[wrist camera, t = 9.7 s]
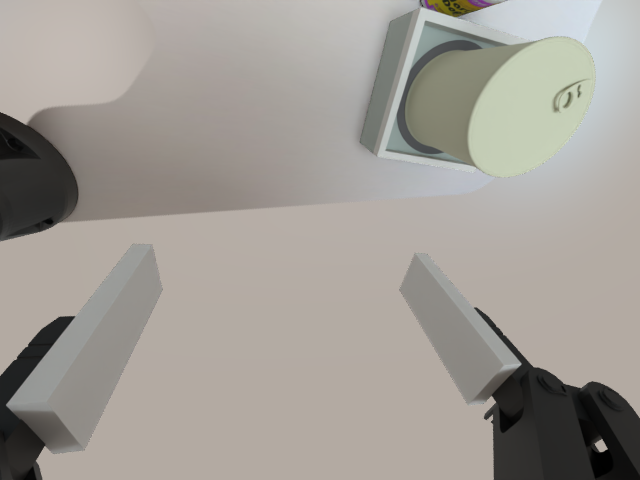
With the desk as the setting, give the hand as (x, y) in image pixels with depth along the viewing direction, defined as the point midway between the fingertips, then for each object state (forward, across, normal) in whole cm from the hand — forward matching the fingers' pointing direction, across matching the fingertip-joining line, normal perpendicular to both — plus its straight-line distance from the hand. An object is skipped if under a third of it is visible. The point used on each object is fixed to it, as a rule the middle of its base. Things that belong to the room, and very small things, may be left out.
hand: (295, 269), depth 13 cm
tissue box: (+25, +18, +8) cm, 32 cm away
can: (+19, +17, +8) cm, 27 cm away
